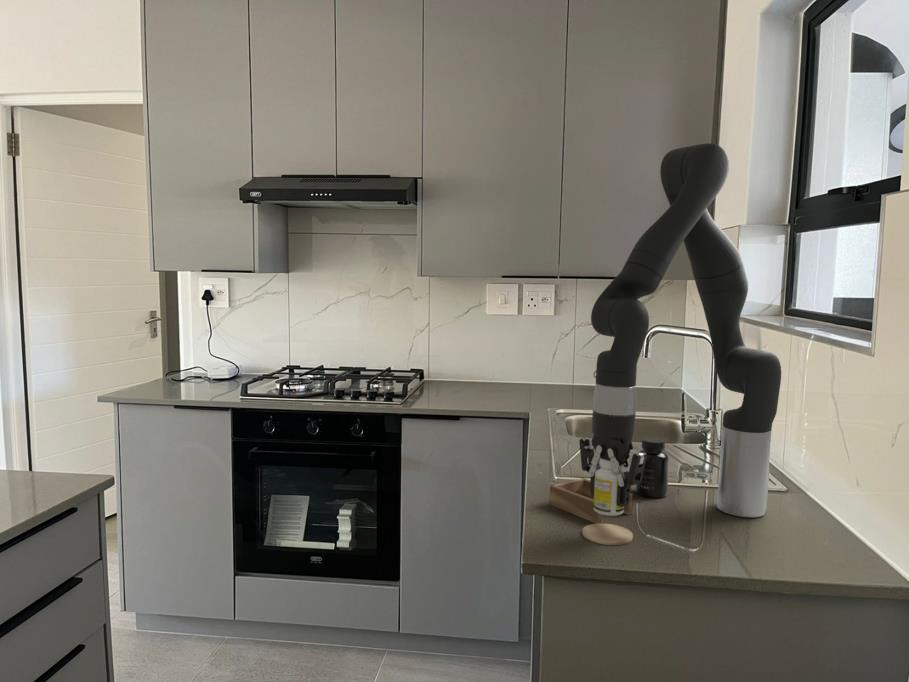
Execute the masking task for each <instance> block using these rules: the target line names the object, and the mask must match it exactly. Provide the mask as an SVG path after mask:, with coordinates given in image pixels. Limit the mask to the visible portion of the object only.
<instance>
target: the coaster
mask: <svg viewBox="0 0 909 682" xmlns="http://www.w3.org/2000/svg"><path fill="white" fill-rule="evenodd" d="M582 536H583V537H584V538H585V539H587V540H588V541H589V542H591V543H592V542H593V543H595V544H599V545H604V546H623V545H628V544H630V543H631V542H632V541H633V540H634V534H633V532H632V531H631V530H630V529H628V528H626V527H623V526H620V525H617V524H612V523H599V524H596V523H592V524H587V525H585V526H584V527H583V528H582Z"/></svg>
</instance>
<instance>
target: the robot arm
mask: <svg viewBox="0 0 909 682" xmlns="http://www.w3.org/2000/svg"><path fill="white" fill-rule="evenodd" d="M730 166H731V165H730V160H729V156H728V153H727V152H726V150H725V149H724V148H723V147H721V145H719V144H716V143H711V142H709V143H707V142H706V143H701V144H700V143H699V144H694V145H688V146H684V147H679V148H675V149H673V150H669V151H668V152H667V153H666V154H665V155H664V156H663V158H662V160H661V164H660V173H659V175H660V181H661V185H662V187H663V191H664V194H665V196H666V198H667V202H668V204H669V207H668V208H667V210H666V211H665V212H664V213H663V214H662V215H660V217H658V218H657V220H655V222H654V223H653V224H652V225H650V226H649V227H648V228H647V229H646V231H645V232H644V233H643V234H641V236H640V237H639V238H638V241H636V243H635V245H634V246H633V248H632V250H631V252H630V254H629V256H628V258H627V260H626V261H625V263H624V265H623V267H622V269H621V271H620V272H619V273H618V274H617V276H615V277H614V279H612V280H611V282H610V283H609V284H608V286H606V288H605V289H604V290H603V291H602V293H600V295H599V296H598V297H597V299H596V301H595V302H594V304H593V307H592V309H591V314H590V322H591V325H592V328H593V330H595V332H596V333H597V334H600V335H602V336H605V337H610V338H611V337H613V341H612V345H611V346H610V349H608V350H603V351H601V352H600V353H598V356H597V360H596V366H595V367H596V369H595V371H596V373H595V377H596V378H595V387H594V392H593V398H592V417H591V433H592V434H593V436H592V437H590V436H589V437H584V438H580V439H579V451H580V463H581V464H580V465H581V470H582V471H583V472H585V471H586V472H587V473H588V476H589V477H590V479H589V480H590V492H591V496H592V497H594V487H595V472H596V471H597V470H598V469H599V468H601V467H600V466H599V465H600V464H599V462H600V458H603V459H606V460H610V461H611V464H612V468H613V471H614V473H615V474H616V476H617V479H618V483H619V486H618V491H617V506H620V507H623V506H626V505H627V504H628V503H629V501H630V494H631V487H632V486H635V485H636V484H640V483H641V480H642V475H643V471H644V467H645V463H646V458H647V454H646V453H645V452H642V453H639V451H637V450H636V449H634V446H633V443H632V442H633V438H634V436H635V430H636V429H635V427H636V412H637V410H636V409H637V389H636V388H637V371H638V370H637V369H638V367H637V365H638V362H639V359H640V356H641V353H642V350H643V347H644V343H645V341H646V338H647V336H648V335H647V334H648V331H649V326H650V317H649V312H648V310H647V308H646V305H645V304H644V303H643V302H641V301H640V300H639V299H640V298H642V297H647V296H650V295H653V293H655V292H656V290H657V289H658V287H659V286H660V284H661V282H662V280H663V278H664V276H665V274H666V272H667V270H668V268H669V266H670V264H671V262H672V260H673V259H674V257H675V256H676V253H677V252H678V250H679V248H680V247H681V246H682V244H683V245H684V247H685V249H686V250H685V251H686V252H687V253H686V254H687V256H688V259H689V263H690V266H691V267H690V268H691V271H692V274H693V279H694V283H695V284H696V289H697V292H698V295H699V298H700V300H701V304H702V308H703V312H704V316H705V320H706V325H707V327H708V332H709V338H710V342H711V348H712V354H713V360H714V365H715V371H716V374H717V378H718V380H719V383H721V386H722V387H724V388H725V389H727V390H728V391H731V392H734V393H738V394H743V398H742V402H741V406H739V407H737V408H733V409H729V410H726V411H725V412H723V416H722V424H721V425H722V426H721V427H722V428H721V443H720V457H719V468H718V469H719V472H718V483H717V484H718V486H717V498H716V508H717V509H718V510H720V511H721V512H723V513H725V514H728V515H732V516H736V517H742V518H760V517H763V516H765V514H766V511H767V507H768V494H769V484H770V483H769V482H770V481H769V480H770V468H771V467H770V457H771V455H770V454H771V443H772V430H773V423H774V420H775V417H776V415H777V413H778V412H777V411H778V407H779V406H778V405H779V397H780V389H781V384H782V383H781V381H782V365H781V362H780V361H781V360H780V359H779V357H778V356H777V355H776V354H775V353H773V352H772V351H768V350H763V349H762V350H761V349H755V348H750V347H749V348H748V347H746V344H745V342H744V339H743V336H742V332H741V326H740V319H741V315H742V312H743V309H744V305H745V303H746V300H747V297H748V293H749V292H748V291H749V281H748V277H747V274H746V270H745V265H744V261H743V257H742V256H741V253H740V251H739V249H738V248H737V246H735V244H734V242H733V241H732V240H731V238H729V237H728V235H727V234H726V233H725V232H724V231H723V230H722V229H721V228H720V227H719V226H718V224H717V223H716V222H715V221H714V219H713V217H712V215H711V214H710V212H709V210H708V208H709V206H710V205H711V204H712V203H713V201H714V200H715V199H716V197H717V196H718V194H719V193H720V191H721V190H722V189H723V187H724V186H725V184H726V182H727V180H728V176H729V174H730ZM629 458H630V459H629ZM621 465H622V468H620V466H621ZM623 473H624V475H623ZM624 477H625V479H624Z"/></svg>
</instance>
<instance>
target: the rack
mask: <svg viewBox="0 0 909 682" xmlns="http://www.w3.org/2000/svg"><path fill="white" fill-rule="evenodd" d="M548 504H549V506H552V507H554V508H557V509H558V510H559V509H560V510H562V511H564V512H567V513H569V514H571V515H574V516H577V517H579V518H582V519H584V520H587V521H589V522H592V523H593V524H602V516H603V515H602V514H599V513H597V512H596V511H595V510H594V497H592V496H591V492H590V479H588V478H585V477H581V478H576V479H574V480H568V481H565V482H564V481H563V482H560V483H556V484H551V485H550V486H549V502H548ZM632 507H633V493H630V501H629V503H628V504H627V505H626V506H624V512H623V513H622V514H625V515H627V516H629V515H632V512H633V511H632V509H633V508H632Z"/></svg>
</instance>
